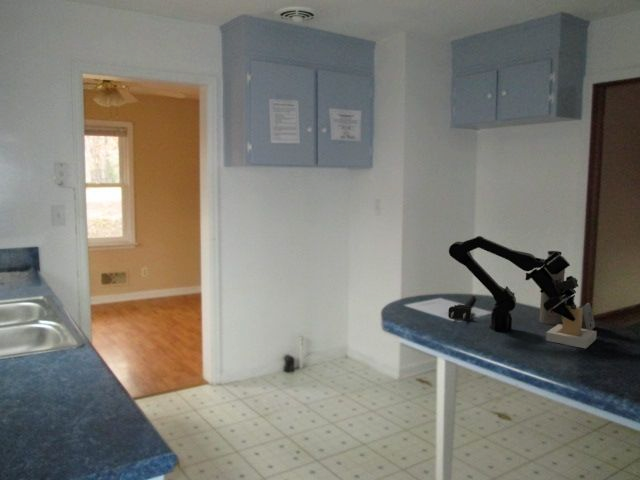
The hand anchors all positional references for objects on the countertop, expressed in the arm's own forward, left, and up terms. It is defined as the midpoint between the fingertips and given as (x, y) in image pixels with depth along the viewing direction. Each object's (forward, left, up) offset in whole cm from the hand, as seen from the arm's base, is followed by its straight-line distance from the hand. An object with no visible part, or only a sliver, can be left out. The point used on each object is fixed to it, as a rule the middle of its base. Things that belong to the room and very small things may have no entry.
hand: (576, 318), depth 189 cm
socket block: (-1, +1, -8) cm, 8 cm away
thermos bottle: (+4, +23, -8) cm, 25 cm away
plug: (-1, +1, -8) cm, 8 cm away
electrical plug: (-22, +45, -9) cm, 50 cm away
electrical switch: (+12, +13, -8) cm, 20 cm away
